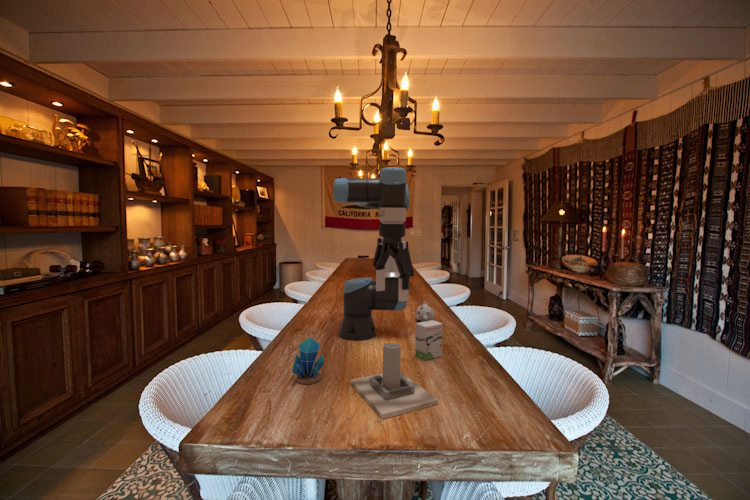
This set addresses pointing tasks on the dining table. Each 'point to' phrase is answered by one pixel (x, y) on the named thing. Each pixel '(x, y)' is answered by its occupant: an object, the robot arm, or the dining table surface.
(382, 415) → the holder board
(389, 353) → the beverage can
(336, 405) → the dining table surface
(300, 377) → the gemstone
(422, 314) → the pale grey lumpy bulb
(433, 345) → the ink box
